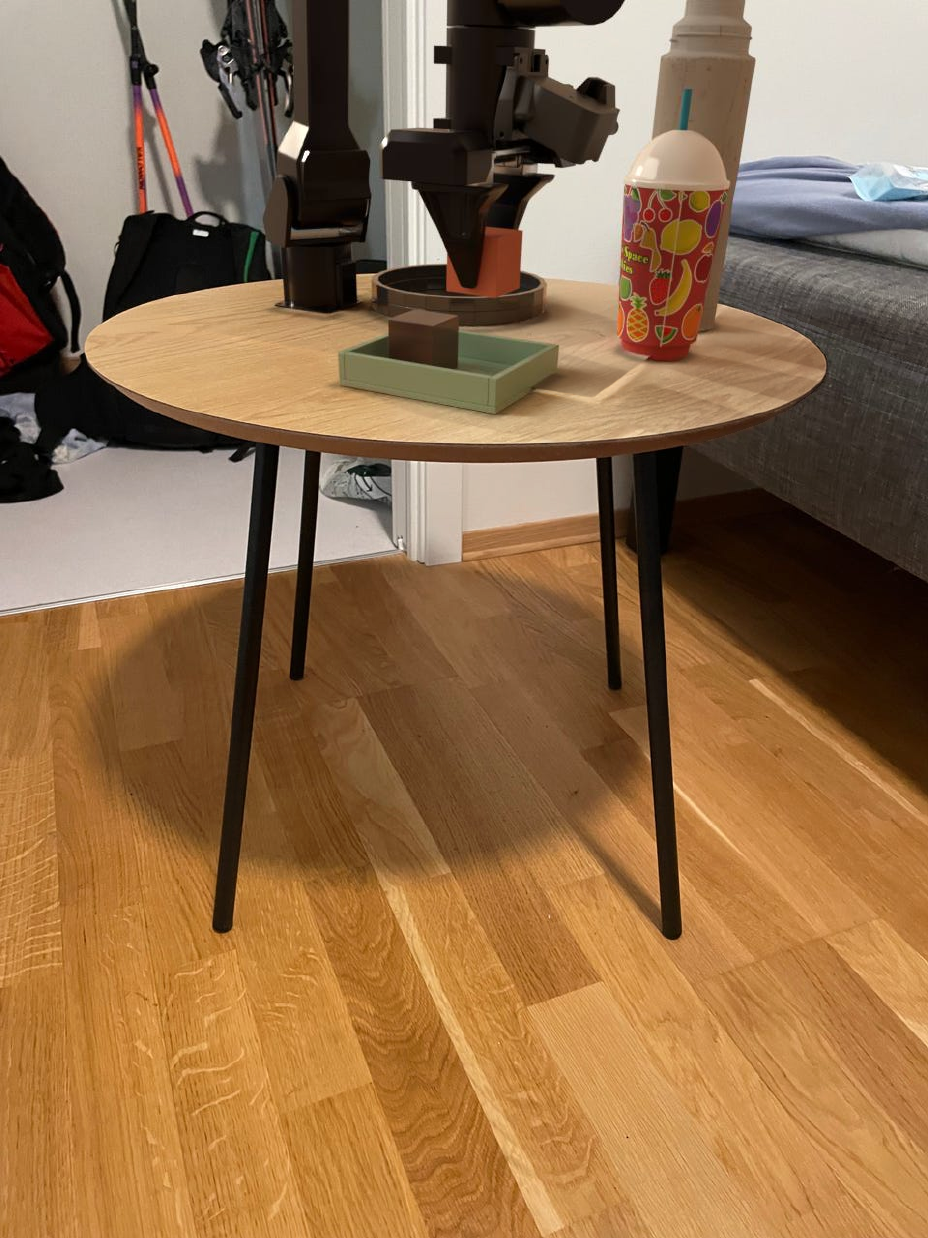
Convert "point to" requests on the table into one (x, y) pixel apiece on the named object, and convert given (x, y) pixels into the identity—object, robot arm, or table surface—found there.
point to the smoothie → (669, 240)
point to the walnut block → (424, 338)
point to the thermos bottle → (710, 99)
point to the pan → (454, 297)
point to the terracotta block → (494, 265)
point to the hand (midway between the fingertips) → (482, 282)
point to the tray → (454, 371)
